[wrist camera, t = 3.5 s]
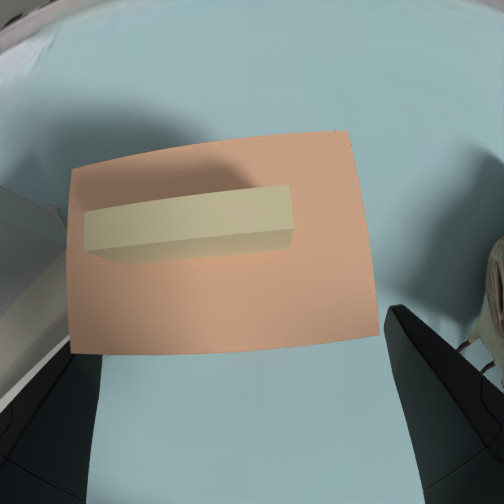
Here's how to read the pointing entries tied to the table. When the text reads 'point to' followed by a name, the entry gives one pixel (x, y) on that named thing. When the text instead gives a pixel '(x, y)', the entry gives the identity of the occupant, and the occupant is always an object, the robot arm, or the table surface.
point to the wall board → (30, 290)
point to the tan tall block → (220, 248)
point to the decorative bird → (492, 310)
